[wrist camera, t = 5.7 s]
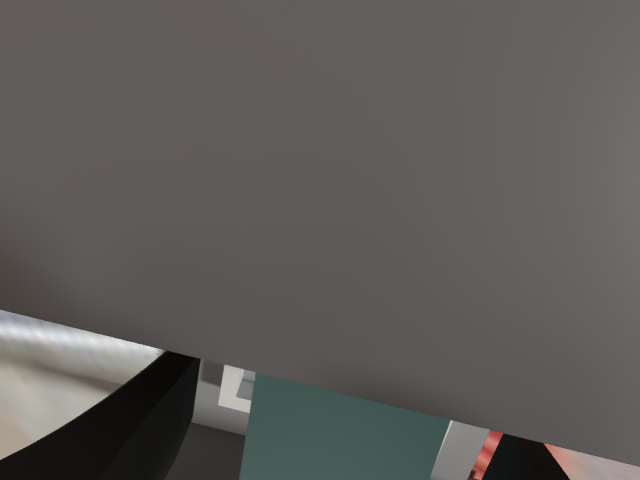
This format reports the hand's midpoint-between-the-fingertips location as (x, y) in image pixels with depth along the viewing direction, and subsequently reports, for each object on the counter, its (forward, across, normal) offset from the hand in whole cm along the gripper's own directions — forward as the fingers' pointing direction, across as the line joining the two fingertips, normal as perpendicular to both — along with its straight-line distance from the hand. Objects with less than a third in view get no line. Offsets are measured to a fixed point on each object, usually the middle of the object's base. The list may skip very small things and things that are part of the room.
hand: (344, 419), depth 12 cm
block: (+4, 0, 0) cm, 4 cm away
